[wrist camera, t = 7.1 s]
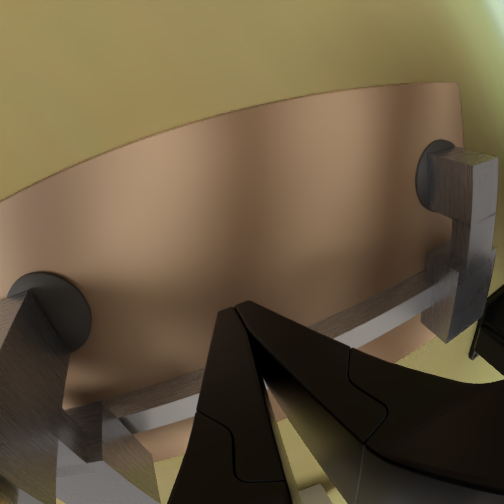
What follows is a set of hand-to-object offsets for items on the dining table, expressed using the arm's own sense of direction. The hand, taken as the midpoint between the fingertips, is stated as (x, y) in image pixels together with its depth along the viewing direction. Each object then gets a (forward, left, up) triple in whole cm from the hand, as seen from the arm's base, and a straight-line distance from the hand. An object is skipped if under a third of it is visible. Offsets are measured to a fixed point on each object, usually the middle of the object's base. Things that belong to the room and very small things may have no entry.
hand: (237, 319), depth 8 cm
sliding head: (+7, +2, -2) cm, 8 cm away
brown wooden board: (-1, +2, -4) cm, 5 cm away
